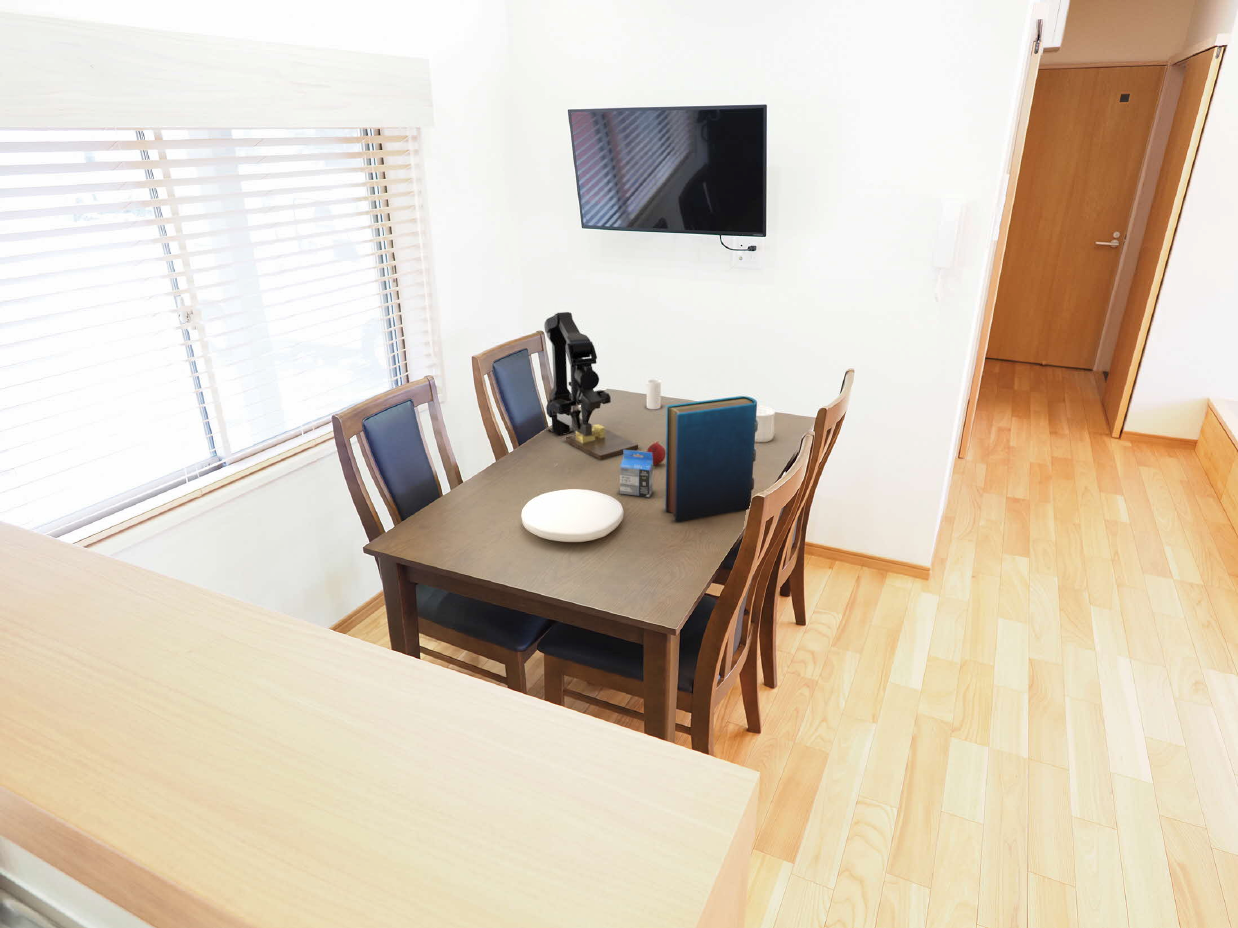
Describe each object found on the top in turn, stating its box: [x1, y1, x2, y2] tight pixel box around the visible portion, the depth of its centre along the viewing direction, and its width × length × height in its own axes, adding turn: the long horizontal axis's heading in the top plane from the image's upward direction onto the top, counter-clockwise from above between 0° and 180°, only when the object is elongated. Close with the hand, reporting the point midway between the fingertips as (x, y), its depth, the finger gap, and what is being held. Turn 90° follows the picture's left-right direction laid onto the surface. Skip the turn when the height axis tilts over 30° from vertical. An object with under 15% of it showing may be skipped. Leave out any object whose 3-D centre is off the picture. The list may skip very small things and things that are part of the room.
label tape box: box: [619, 450, 654, 498], centre depth 222 cm, size 9×4×12 cm, turn 73°
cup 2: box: [755, 405, 776, 443], centre depth 261 cm, size 10×10×10 cm
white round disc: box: [520, 488, 625, 543], centre depth 205 cm, size 28×6×27 cm
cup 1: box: [646, 378, 662, 410], centre depth 291 cm, size 5×5×10 cm
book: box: [664, 395, 758, 523], centre depth 209 cm, size 24×9×30 cm, turn 110°
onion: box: [646, 440, 666, 466], centre depth 241 cm, size 6×6×8 cm
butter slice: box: [592, 423, 606, 438], centre depth 261 cm, size 4×2×4 cm, turn 37°
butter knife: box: [557, 413, 593, 436], centre depth 246 cm, size 18×2×4 cm, turn 36°
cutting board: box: [564, 428, 639, 461], centre depth 257 cm, size 20×15×5 cm
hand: (581, 428), depth 242 cm, fingers closed on butter knife, 2 cm apart
